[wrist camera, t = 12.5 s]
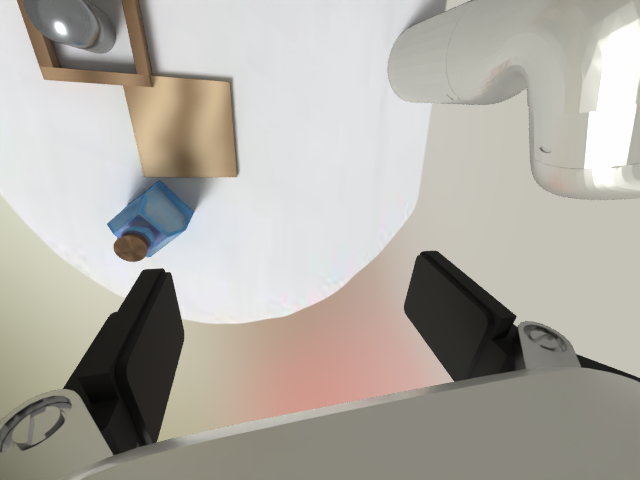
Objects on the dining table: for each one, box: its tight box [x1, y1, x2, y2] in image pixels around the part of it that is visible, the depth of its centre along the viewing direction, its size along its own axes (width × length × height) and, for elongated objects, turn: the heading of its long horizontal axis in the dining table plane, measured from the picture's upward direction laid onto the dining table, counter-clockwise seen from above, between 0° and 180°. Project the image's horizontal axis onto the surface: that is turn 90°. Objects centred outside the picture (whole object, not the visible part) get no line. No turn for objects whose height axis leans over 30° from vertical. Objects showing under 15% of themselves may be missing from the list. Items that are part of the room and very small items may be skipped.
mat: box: [123, 76, 237, 177], centre depth 36 cm, size 12×12×1 cm
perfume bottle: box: [107, 180, 194, 262], centre depth 35 cm, size 6×6×12 cm
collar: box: [17, 0, 153, 87], centre depth 29 cm, size 10×10×2 cm
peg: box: [23, 0, 116, 53], centre depth 27 cm, size 4×4×6 cm
